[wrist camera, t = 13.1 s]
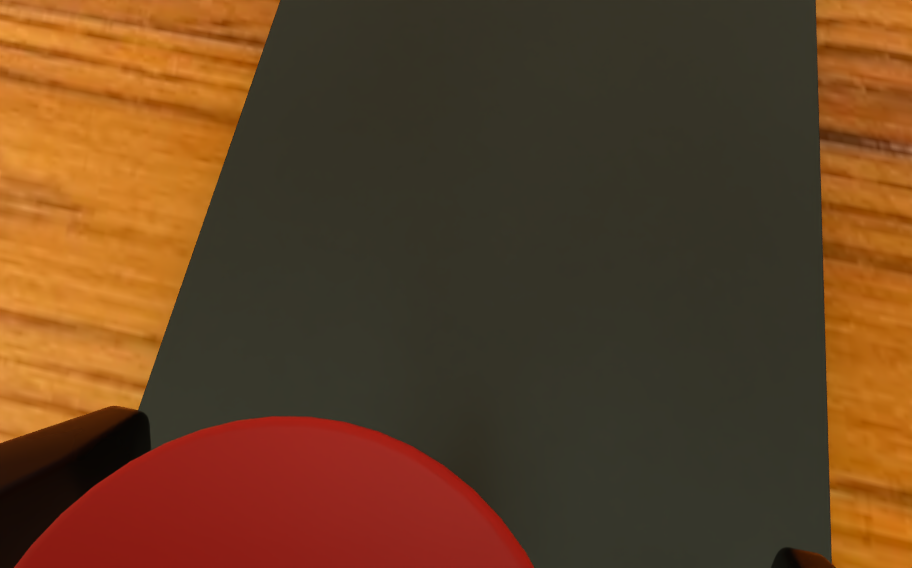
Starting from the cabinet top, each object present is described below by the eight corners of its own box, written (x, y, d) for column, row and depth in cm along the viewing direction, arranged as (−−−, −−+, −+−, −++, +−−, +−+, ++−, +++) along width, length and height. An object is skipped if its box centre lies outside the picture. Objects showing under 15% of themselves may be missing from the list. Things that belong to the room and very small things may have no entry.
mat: (829, 809, 12) (840, 816, 12) (64, 651, 14) (52, 653, 13) (803, -232, 23) (809, -245, 23) (376, -262, 24) (375, -275, 24)
